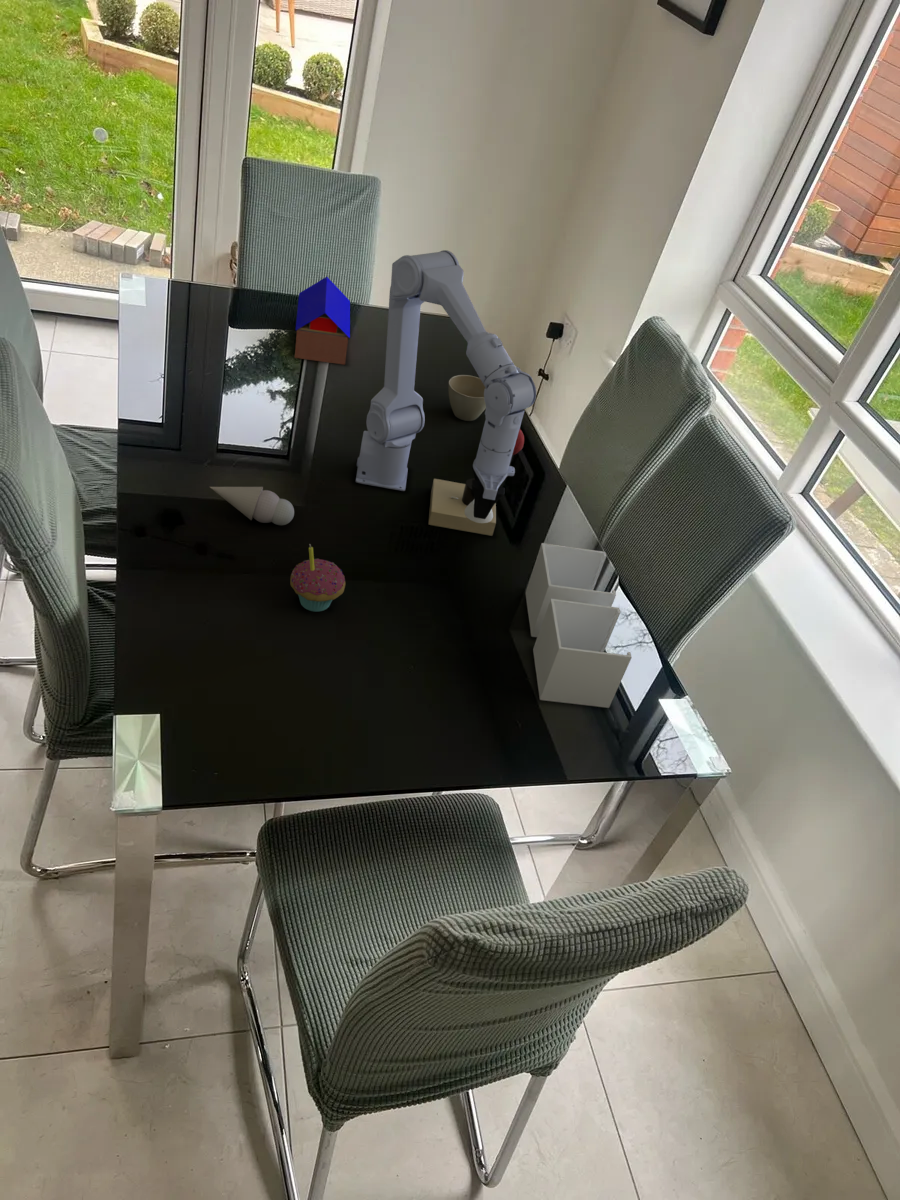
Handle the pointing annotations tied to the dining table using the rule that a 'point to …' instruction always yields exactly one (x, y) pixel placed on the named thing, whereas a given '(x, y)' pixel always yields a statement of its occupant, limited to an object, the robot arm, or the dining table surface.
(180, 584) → the dining table surface
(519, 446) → the onion
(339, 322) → the house
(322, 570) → the cupcake
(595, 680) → the storage container
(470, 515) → the white jar
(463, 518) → the panel
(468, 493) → the knob
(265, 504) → the ice cream cone
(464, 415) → the flower pot
